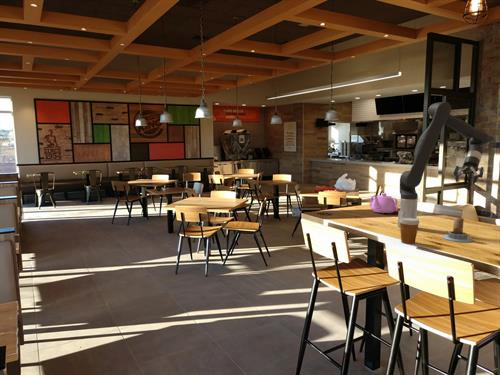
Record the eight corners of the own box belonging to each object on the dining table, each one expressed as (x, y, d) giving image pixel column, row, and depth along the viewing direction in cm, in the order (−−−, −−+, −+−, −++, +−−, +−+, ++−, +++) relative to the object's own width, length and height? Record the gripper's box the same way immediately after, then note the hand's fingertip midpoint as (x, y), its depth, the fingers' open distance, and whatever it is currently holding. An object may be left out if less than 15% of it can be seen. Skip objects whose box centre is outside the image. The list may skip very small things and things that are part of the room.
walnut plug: (455, 238, 199) (457, 219, 198) (450, 236, 203) (452, 217, 202) (464, 238, 199) (465, 219, 198) (459, 236, 203) (460, 217, 202)
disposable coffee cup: (418, 245, 187) (420, 221, 186) (397, 243, 191) (398, 219, 189) (418, 241, 196) (419, 217, 195) (398, 239, 199) (399, 216, 198)
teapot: (359, 212, 279) (360, 193, 278) (375, 208, 294) (376, 190, 292) (388, 216, 263) (389, 196, 261) (403, 212, 277) (404, 193, 276)
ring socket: (451, 242, 194) (451, 236, 194) (437, 235, 208) (437, 230, 208) (478, 242, 194) (479, 236, 194) (462, 235, 208) (463, 230, 208)
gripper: (457, 155, 223) (450, 176, 216) (486, 156, 213) (479, 178, 206) (459, 164, 227) (452, 185, 220) (487, 165, 217) (480, 187, 210)
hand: (465, 181), depth 213 cm, fingers open, 8 cm apart
